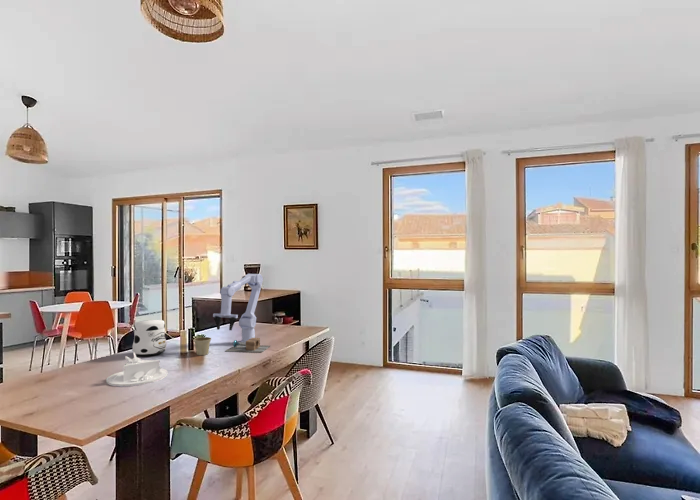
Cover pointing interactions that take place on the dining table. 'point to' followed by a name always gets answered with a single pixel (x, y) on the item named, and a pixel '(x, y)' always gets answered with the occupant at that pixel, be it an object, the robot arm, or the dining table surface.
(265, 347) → the hitch block
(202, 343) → the flower pot
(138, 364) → the dish
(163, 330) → the milk container
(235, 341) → the pin
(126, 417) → the dining table surface
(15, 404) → the dining table surface
